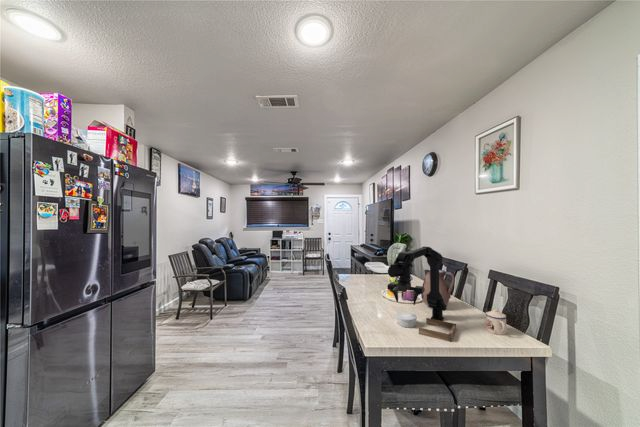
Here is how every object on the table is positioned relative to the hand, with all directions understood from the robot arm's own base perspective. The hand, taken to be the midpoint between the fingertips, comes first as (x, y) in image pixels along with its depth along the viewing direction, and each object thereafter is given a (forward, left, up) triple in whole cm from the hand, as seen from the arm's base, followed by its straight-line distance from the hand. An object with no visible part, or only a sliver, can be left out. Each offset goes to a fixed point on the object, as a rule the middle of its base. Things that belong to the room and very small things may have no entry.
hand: (405, 303), depth 141 cm
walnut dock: (-5, +15, -13) cm, 20 cm away
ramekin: (-5, -1, -14) cm, 14 cm away
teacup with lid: (-21, +41, -14) cm, 48 cm away
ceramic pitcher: (-46, +7, -14) cm, 49 cm away
